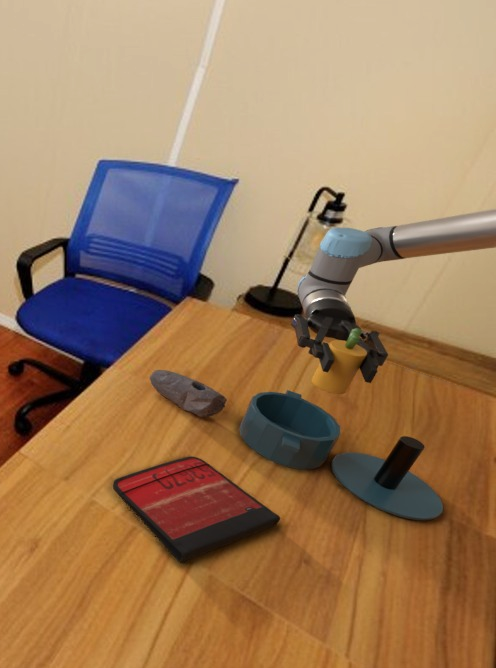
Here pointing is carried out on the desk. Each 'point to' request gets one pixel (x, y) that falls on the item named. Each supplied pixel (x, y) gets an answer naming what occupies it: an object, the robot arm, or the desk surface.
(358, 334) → the yellow cylinder green stem
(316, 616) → the desk surface
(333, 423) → the pot
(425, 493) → the pot lid
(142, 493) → the binder
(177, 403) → the perforated stone tool
